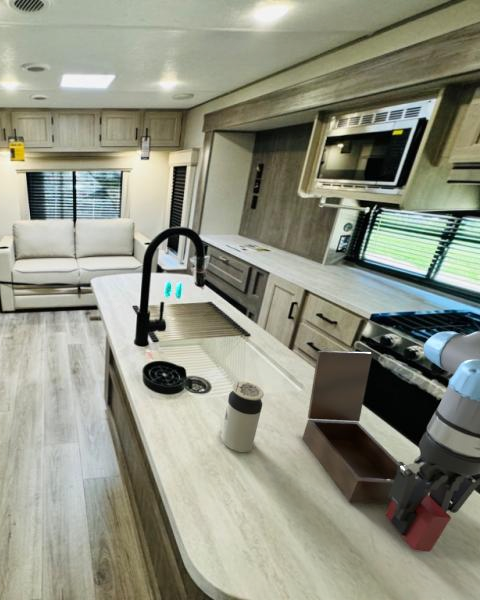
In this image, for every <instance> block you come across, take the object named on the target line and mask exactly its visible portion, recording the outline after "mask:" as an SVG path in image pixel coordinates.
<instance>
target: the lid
mask: <svg viewBox="0 0 480 600" xmlns="http://www.w3.org/2000/svg"><path fill="white" fill-rule="evenodd" d="M316 355H317V356H316V361H315V368H314V374H313V380H312V388H311V393H310V399H309V400H310V401H309V406H308V412H307V418H308V420H327V421H349V422H360V419H361V415H362V410H363V403H364V398H365V394H366V390H367V389H366V388H367V384H368V378H369V372H370V369H371V368H370V367H371V363H372V357H373V352H370V351H340V350H339V351H338V350H337V351H335V350H332V351H331V350H317V354H316Z"/></svg>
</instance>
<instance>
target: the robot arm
mask: <svg viewBox="0 0 480 600" xmlns="http://www.w3.org/2000/svg"><path fill="white" fill-rule="evenodd" d="M423 354H424V356H425V358H426V359H428V360H429V361H430V362H432V363H433V364H435V365H436V366H438V367H439V368H441V370H444V371H446V372H448V373H450V374H451V375H452V376H450V378H449V380H448V385H447V387H446V389H445V391H444V394H443V395H442V398H441V401H440V403H439V404H438V406H437V407H436V410H435V411H434V413H433V415H432V417H431V419H430V420H429V422H428V424H427V426H426V430H425V431H424V432H423V435H422V437H421V439H420V441H419V443H418V449H419V456H418V457H416V458H415V459H414V461H413V463H410V464H405V463H404V462H403V461H398V463H397V464H396V466H397V474H396V476H395V479H394V482H393V485H392V488H391V491H390V493H389V498H390V499H391V500H392V501H393V502H394V503H395V504H396V508H395V510H394V516H393V518H392V520H391V522H390V524H391V525H392V524H393V525H394V526H393V525H392V526H393V527H394V528H395V530H396V529H397V530H398V531H399V532H398V531H397V530H396V531H397V532H398V534H399V535H400V536H401V535H403V536H406V534H407V532H408V531H409V529H410V527H411V525H412V523H413V522H414V520H415V518H416V516H417V515H418V514H417V513H416V511H415V509H416V508H417V507H418V506H419V505H420V503H421V502H422V501H423V500H424V498H425V497H426V496H427V495H429V496H430V497H431V498H432V499H433V500H434V501H435V502H436V503H437V504H438V505H439V506H440V507H441V508H442V509H443V510H444V511H445V512H446V513H448V512H450V513H451V514H456V513H458V512H459V511H460V509H461V508H462V507H463V505H464V504H465V503H466V502H467V500H468V499H469V497H470V496H471V495H472V494H473V492H474V491H475V490H476V489H477V487H478V486H480V330H478V331H475V332H472V333H468V334H467V335H466V334H465V335H464V334H463V333H458V332H456V331H449V330H448V331H440V332H437V333H434V334H433V335H432V336H430V337H429V338H428V339H427V340H426V341H425V343H424V345H423Z"/></svg>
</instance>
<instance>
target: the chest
mask: <svg viewBox="0 0 480 600" xmlns="http://www.w3.org/2000/svg"><path fill="white" fill-rule="evenodd" d="M302 441H303V442H304V443H305V445H306V446H307V447H308V449H309V450H310V451H311V453H312V454H313V456H314V457H315V458H316V459H317V461H318V463H319V464H320V465H321V466H322V468H323V470H324V471H325V472H326V473H327V474H328V476H329V477H330V479H331V480H332V482H333V483H334V484H335V485H336V487H337V489H339V491H340V492H341V494H342V495H343V496H344V498H345V499H346V500H347V502H348V503H356V504H370V505H381V506H382V505H383V506H389V505H390V503H391V501H392V500H391V499H390V498H389V493H390V491H391V488H392V485H393V482H394V479H395V476H396V474H397V466H396V464H397V463H398V462H399V461H398V460H397V459H396V458H394V456H393V455H392V454H391V453H390V452H389V451H388V450H387V449H386V448H384V446H383V445H381V443H380V442H379V441H378V440H377V439H376V438H375V437H373V436H372V435H371V434H370V432H369V431H368V430H367V429H366V428H364V426H363V425H361V424H360V423H359V421H342V420H321V419H307V422H306V425H305V427H304V431H303V434H302Z"/></svg>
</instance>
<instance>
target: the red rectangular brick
mask: <svg viewBox="0 0 480 600" xmlns="http://www.w3.org/2000/svg"><path fill="white" fill-rule="evenodd" d="M395 508H396V504H395V503H394V502H393V501H391V503H390V505H388V507H387V509H386V511H385V513H384V516H385V517H386V518H387V520H388V521H389V522H390V523H391V520H392V518H393V516H394V510H395ZM415 511H416V513H417V514H418V515H417V516H416V518H415V520H414V522H413V523H412V525H411V527H410V529H409V531H408V532H407V534H406V536H403V535H401V534H400V536H401V537H402V539H403V540H404V541H405V542H406V543H407V544H408V546H409V547H410V548H411V549H412V551H413V552H428V553H430V552H431V551H432V550H433V548H434V547H435V545H436V543H437V542H438V540H439V538H440V537H441V535H442V534H443V532H444V530H445V529H446V527H447V526H448V524H449V523H450V521H451V519H452V516H451V515H449V513H448V512H445V511H444V510H443V509H442V508H441V507H440V506H439V505H438V504H437V503H436V502H435V501H434V500H433V499H432V498H431V497H430V496H429V494H428V495H427V496H426V497H425V498H424V500H423V501H422V502H421V503H420V505H419V506H418V507H417V508H416V509H415ZM391 525H392V526H393V527H394V525H393V524H392V523H391ZM395 530H396V531H397V532H398V533H399V531H398V530H397V529H396V528H395Z"/></svg>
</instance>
